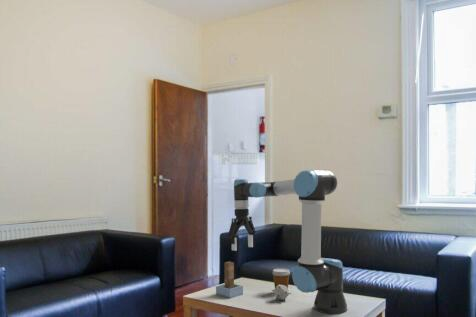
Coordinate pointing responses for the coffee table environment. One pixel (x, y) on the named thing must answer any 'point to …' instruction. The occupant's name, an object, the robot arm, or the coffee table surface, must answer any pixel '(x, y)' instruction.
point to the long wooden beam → (229, 275)
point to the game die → (281, 292)
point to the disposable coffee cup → (281, 277)
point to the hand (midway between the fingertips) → (242, 248)
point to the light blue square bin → (229, 291)
